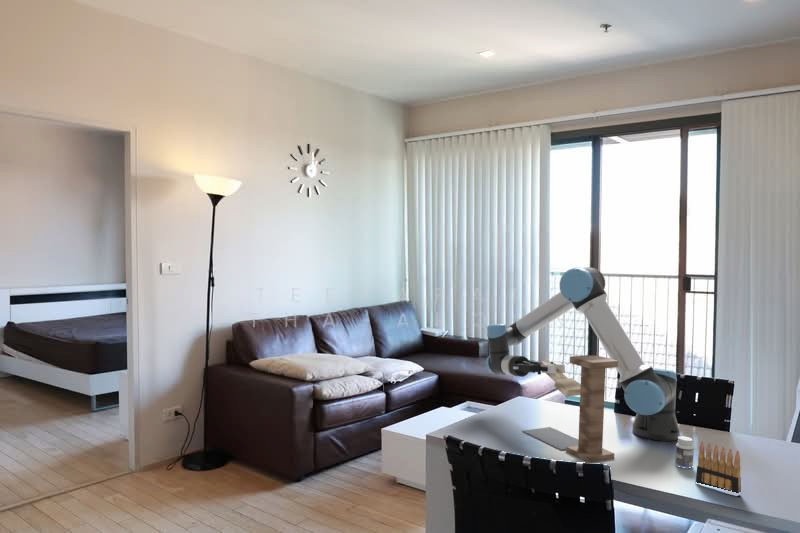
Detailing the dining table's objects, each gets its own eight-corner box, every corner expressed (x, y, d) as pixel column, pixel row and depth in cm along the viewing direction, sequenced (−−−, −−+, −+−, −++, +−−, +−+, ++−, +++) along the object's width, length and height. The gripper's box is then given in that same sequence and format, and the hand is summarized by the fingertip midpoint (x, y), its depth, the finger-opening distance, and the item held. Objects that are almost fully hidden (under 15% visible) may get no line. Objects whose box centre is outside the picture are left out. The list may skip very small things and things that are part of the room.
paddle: (534, 367, 197) (536, 361, 196) (550, 366, 200) (552, 360, 199) (565, 396, 183) (568, 390, 182) (582, 394, 186) (584, 388, 185)
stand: (566, 451, 179) (569, 356, 178) (590, 447, 183) (594, 354, 182) (589, 462, 170) (593, 362, 169) (614, 458, 174) (618, 360, 173)
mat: (522, 431, 198) (522, 430, 198) (549, 428, 203) (550, 426, 203) (561, 450, 180) (561, 449, 180) (590, 446, 185) (590, 445, 185)
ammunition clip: (740, 496, 149) (743, 450, 149) (738, 497, 148) (740, 452, 148) (698, 482, 157) (700, 439, 157) (695, 484, 156) (697, 440, 156)
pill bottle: (672, 462, 172) (673, 435, 172) (688, 463, 172) (689, 435, 171) (679, 468, 167) (680, 440, 167) (695, 469, 167) (697, 441, 167)
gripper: (534, 374, 215) (578, 378, 194) (498, 377, 207) (541, 382, 186) (532, 354, 215) (577, 356, 194) (497, 356, 208) (539, 359, 187)
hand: (559, 369), depth 190 cm, fingers closed on paddle, 3 cm apart
